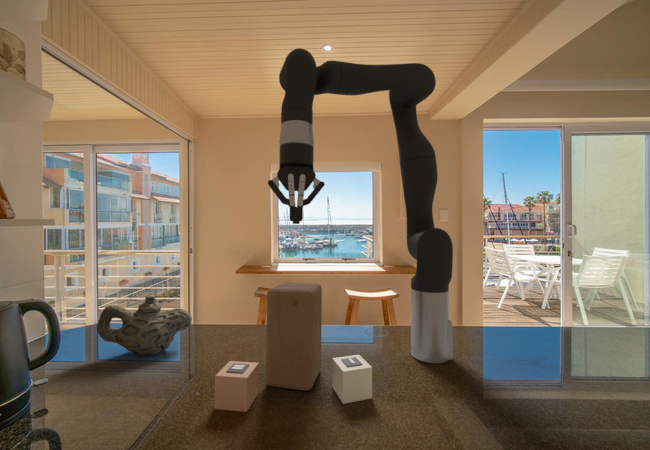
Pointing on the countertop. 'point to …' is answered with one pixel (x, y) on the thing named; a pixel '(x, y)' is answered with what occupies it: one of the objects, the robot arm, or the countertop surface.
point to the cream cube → (351, 378)
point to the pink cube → (236, 386)
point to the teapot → (143, 326)
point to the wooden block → (293, 335)
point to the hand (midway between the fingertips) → (295, 223)
